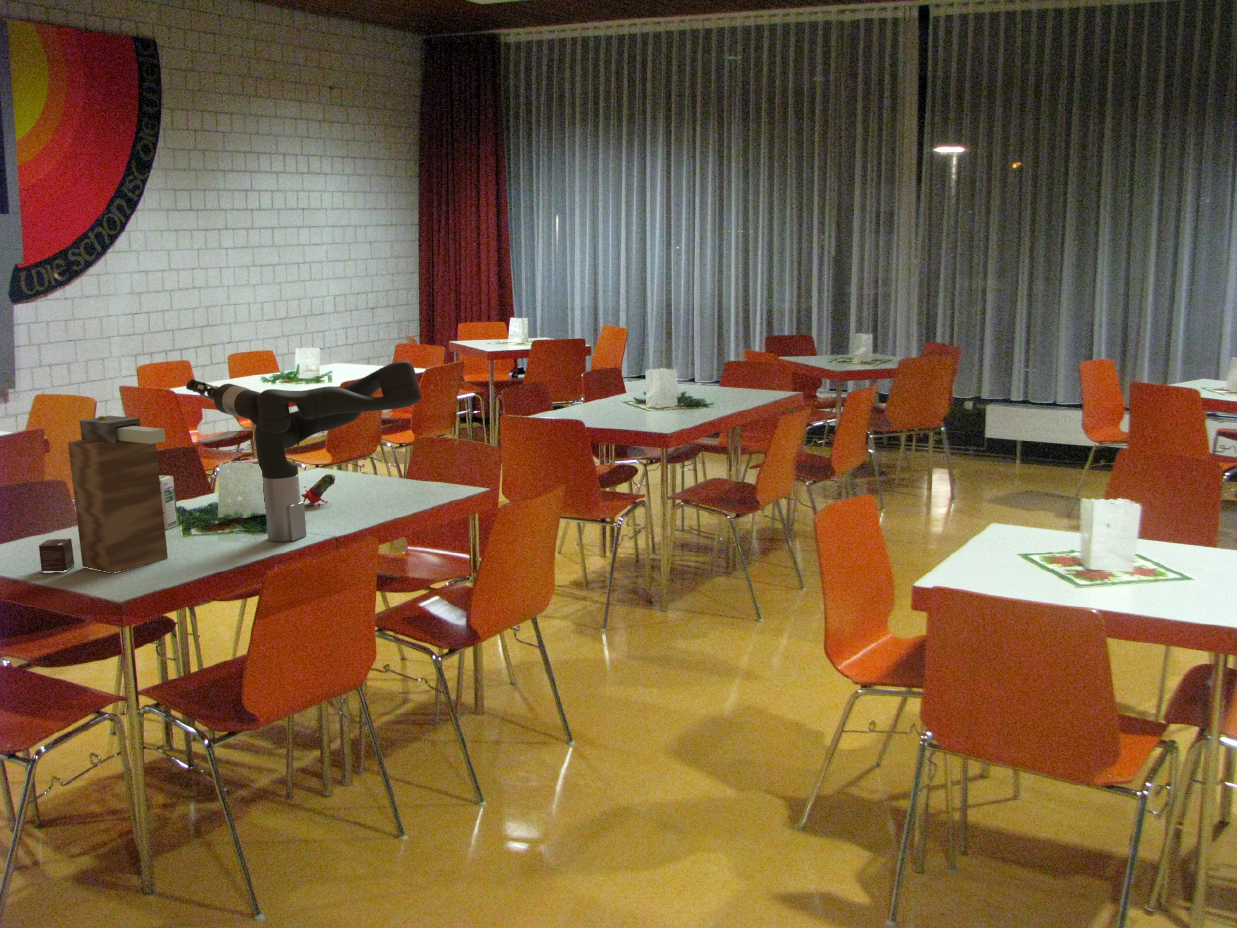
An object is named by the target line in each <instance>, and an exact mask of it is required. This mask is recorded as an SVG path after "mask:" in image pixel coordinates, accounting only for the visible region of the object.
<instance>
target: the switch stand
mask: <svg viewBox="0 0 1237 928" xmlns="http://www.w3.org/2000/svg"><path fill="white" fill-rule="evenodd" d="M123 425H130V426H140V427H142V426H141V418H139V417H128V416H118V415H106V416H105V415H100V416H98V417H94V418H93V417H92V418H87V419H81V420H79V426H80V427H79V428H80V435H81V436H80V437H81V439H80V440H79V439H78V440H73V441H68V442H67V446H68V454H69V463H70V471H71V478H72V479H71V480H72V488H73V497H74V498H73V499H74V505H75V512H76V513H75V514H76V521H77V522H76V523H77V530H78V539H79V547H80V556H81V564H82V567H83V566H84V567H88V568H93V569H97V570H101V571H106V572H110V573H114V572H118V571H123V570H126V571H128V570H127V569H130V570H132V569H131V568H133V569H135V568H134V567H137V566H140V567H142V566H141V565H144V566H146V565H145V564H147V565H150V564H153V563H152V562H154V563H156V561H157V562H160V560H161V561H164V560H168V559H169V556H168V546H167V538H166V537H167V536H166V530H165V526H164V517H163V507H162V498H161V488H160V479H159V476H160V470H159V469H160V468H159V461H158V452H157V443H154V444H147V443H138V442H129V441H120V440H116V435H115V427H117V426H123ZM167 558H168V559H167ZM163 559H164V560H163ZM149 563H150V564H149ZM137 568H138V567H137ZM123 572H124V571H123Z"/></svg>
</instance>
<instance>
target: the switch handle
mask: <svg viewBox="0 0 1237 928" xmlns="http://www.w3.org/2000/svg"><path fill="white" fill-rule="evenodd" d="M165 431H166V430H165V428H158V427H148V426H141V427H140V426H130V425H123V426H117V427H115V435H116V440H120V441H129V442H138V443H147V444H154V443H156V444H158V443H162V442H163V443H164V442H166V433H165Z"/></svg>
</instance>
